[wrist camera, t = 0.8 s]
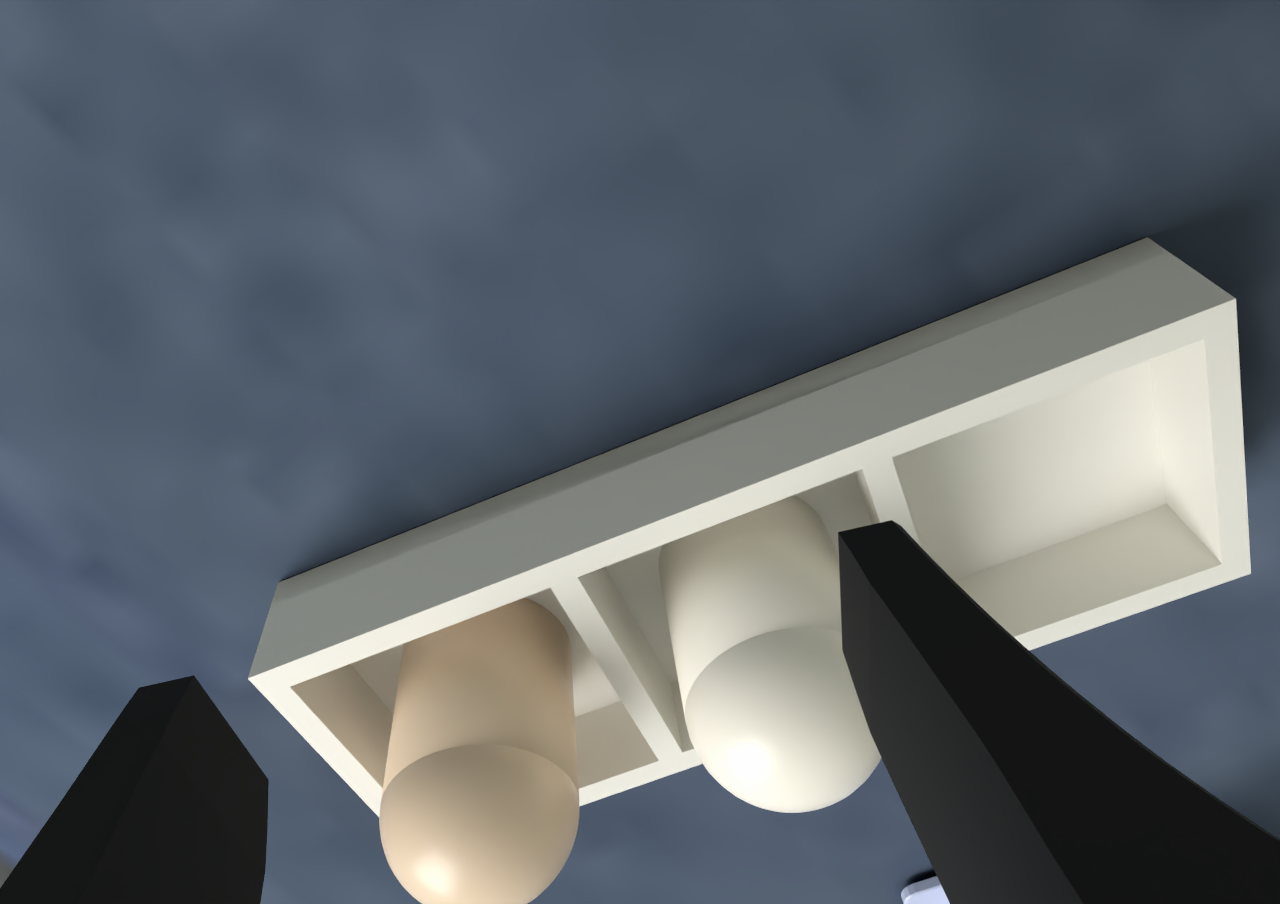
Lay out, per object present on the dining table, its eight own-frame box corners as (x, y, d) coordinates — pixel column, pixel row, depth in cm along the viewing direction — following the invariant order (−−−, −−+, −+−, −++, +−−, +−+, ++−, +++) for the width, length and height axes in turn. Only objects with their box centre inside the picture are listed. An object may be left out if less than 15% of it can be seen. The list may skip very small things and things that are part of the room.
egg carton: (1175, 493, 24) (1391, 722, 18) (430, 762, 27) (403, 1039, 21) (1147, 237, 20) (1412, 420, 14) (278, 582, 23) (190, 859, 17)
